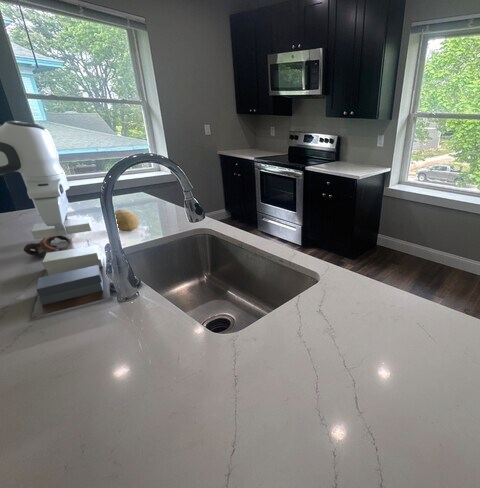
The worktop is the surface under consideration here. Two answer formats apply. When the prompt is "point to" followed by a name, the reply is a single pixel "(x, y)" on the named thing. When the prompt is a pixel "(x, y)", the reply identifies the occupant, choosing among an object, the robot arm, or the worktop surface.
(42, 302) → the grey stack
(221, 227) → the worktop surface
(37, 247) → the pottery mug
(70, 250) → the white stack
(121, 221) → the potato
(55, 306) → the shallow tray
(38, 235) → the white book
